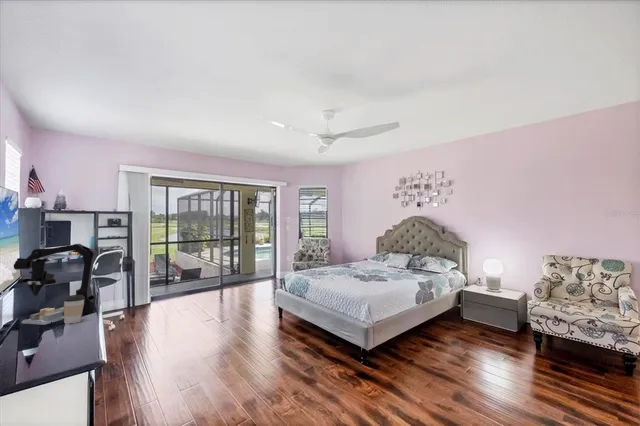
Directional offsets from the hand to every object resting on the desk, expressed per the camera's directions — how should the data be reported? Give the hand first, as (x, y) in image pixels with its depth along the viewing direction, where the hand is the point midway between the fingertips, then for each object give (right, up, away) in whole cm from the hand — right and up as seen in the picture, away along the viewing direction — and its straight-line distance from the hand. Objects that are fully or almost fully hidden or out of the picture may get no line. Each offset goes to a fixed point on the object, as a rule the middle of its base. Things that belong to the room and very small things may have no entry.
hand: (35, 295), depth 166 cm
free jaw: (+11, -10, -8) cm, 17 cm away
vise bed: (+14, -12, -9) cm, 20 cm away
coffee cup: (+30, -13, -9) cm, 34 cm away
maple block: (+15, -11, -9) cm, 20 cm away
